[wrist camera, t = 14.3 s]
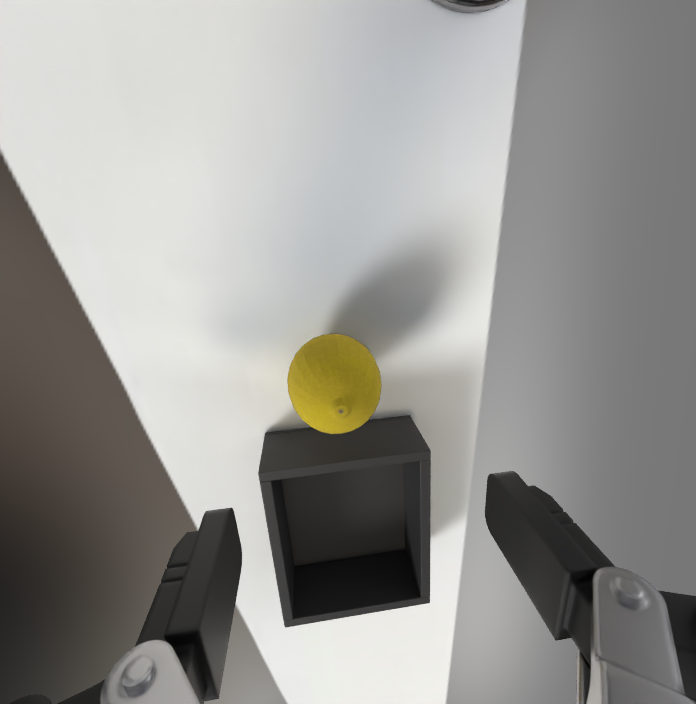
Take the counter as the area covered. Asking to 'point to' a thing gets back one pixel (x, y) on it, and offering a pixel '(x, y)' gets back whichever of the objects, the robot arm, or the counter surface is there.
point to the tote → (348, 519)
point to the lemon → (334, 383)
